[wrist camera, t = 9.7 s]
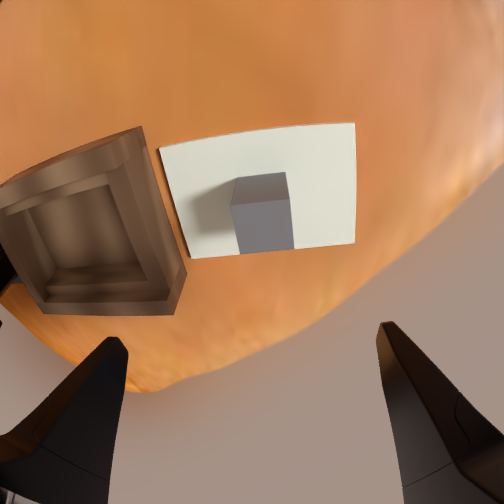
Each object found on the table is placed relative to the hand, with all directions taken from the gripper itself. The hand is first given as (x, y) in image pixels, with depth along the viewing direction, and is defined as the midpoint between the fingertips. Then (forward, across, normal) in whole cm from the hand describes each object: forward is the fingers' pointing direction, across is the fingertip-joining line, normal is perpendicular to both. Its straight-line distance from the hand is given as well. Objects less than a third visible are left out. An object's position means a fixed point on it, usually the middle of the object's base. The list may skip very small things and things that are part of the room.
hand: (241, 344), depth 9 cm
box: (+12, +13, 0) cm, 18 cm away
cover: (+12, -1, 0) cm, 12 cm away
